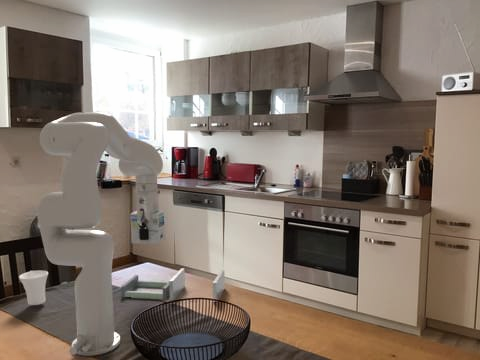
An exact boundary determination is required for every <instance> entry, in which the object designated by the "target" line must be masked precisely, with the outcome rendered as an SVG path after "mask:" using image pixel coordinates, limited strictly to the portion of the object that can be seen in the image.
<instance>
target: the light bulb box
mask: <svg viewBox="0 0 480 360" xmlns="http://www.w3.org/2000/svg"><path fill="white" fill-rule="evenodd" d="M129 216H130V217H129V218H130V236H131V237H130V239H131V241H130V242H131V244H161V243H162V242H164V241H165V240H166V233H165V232H166V229H165V210H159V211H157V212H154V213H152V220H151V221H149V220H148V227H147V229H148V230H149V240H140V237H139V225H138V222H137V210H136V211H133V212H131V213H130V214H129ZM142 220H146V218H145V215H144V216H143V219H142ZM144 224H145V222H144Z"/></svg>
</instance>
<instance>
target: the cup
mask: <svg viewBox="0 0 480 360" xmlns="http://www.w3.org/2000/svg"><path fill="white" fill-rule="evenodd" d="M48 276H49V272H48V271H47V270H30V271H27V272H24V273H22V274H20V275H18V278H19V280H20V282H21V283H22V285H23V288H24V290H25V295H26V298H27V300H26V301H27V305H29V306H38V305H42V304H44V303H45V302H46V301H47V299H46V284H47V278H48Z"/></svg>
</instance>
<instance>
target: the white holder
mask: <svg viewBox="0 0 480 360" xmlns="http://www.w3.org/2000/svg"><path fill="white" fill-rule="evenodd" d="M185 273H186V272H185V268H180V269H179V270H178V271H177V273H175V274H174V275H173V277H172V278H170V279H169V281H168V282H169V285H170V296H169V301H170V302H171V301H173V300H174V301H175V299H177V297H178V296H179V295H180V293H181V292H182V291H183V290H184V289H185V287H186V280H185V279H186V275H185ZM225 280H226V279H225V269H220V271H219V272H218V274H217V276H216V277H215V279H214V280H213V281H212V300H213V299H217V300H218V301H219V300H220V298H221V296H222V294H223V292H224V291H225V289H226V287H225V284H226V283H225ZM174 301H173V302H174Z"/></svg>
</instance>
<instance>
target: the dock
mask: <svg viewBox="0 0 480 360" xmlns="http://www.w3.org/2000/svg"><path fill="white" fill-rule="evenodd" d="M120 287H121V288H120V289H121V291H120V292H121V298H125V297H131V299H148V300H149V299H150V300H167V299H168V298H170V285H169V281H164V280H163V281H161V280H140V279H139V275H138V274H135V275H133V276H132V277H131V278H130V279H128V280H127V281H126V282H125V283H123V284H122V285H121V286H120ZM137 287H139V288H141V287H142V288H143V287H144V288H162V292H161V291H140V290H139V291H135V289H136V288H137Z"/></svg>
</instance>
